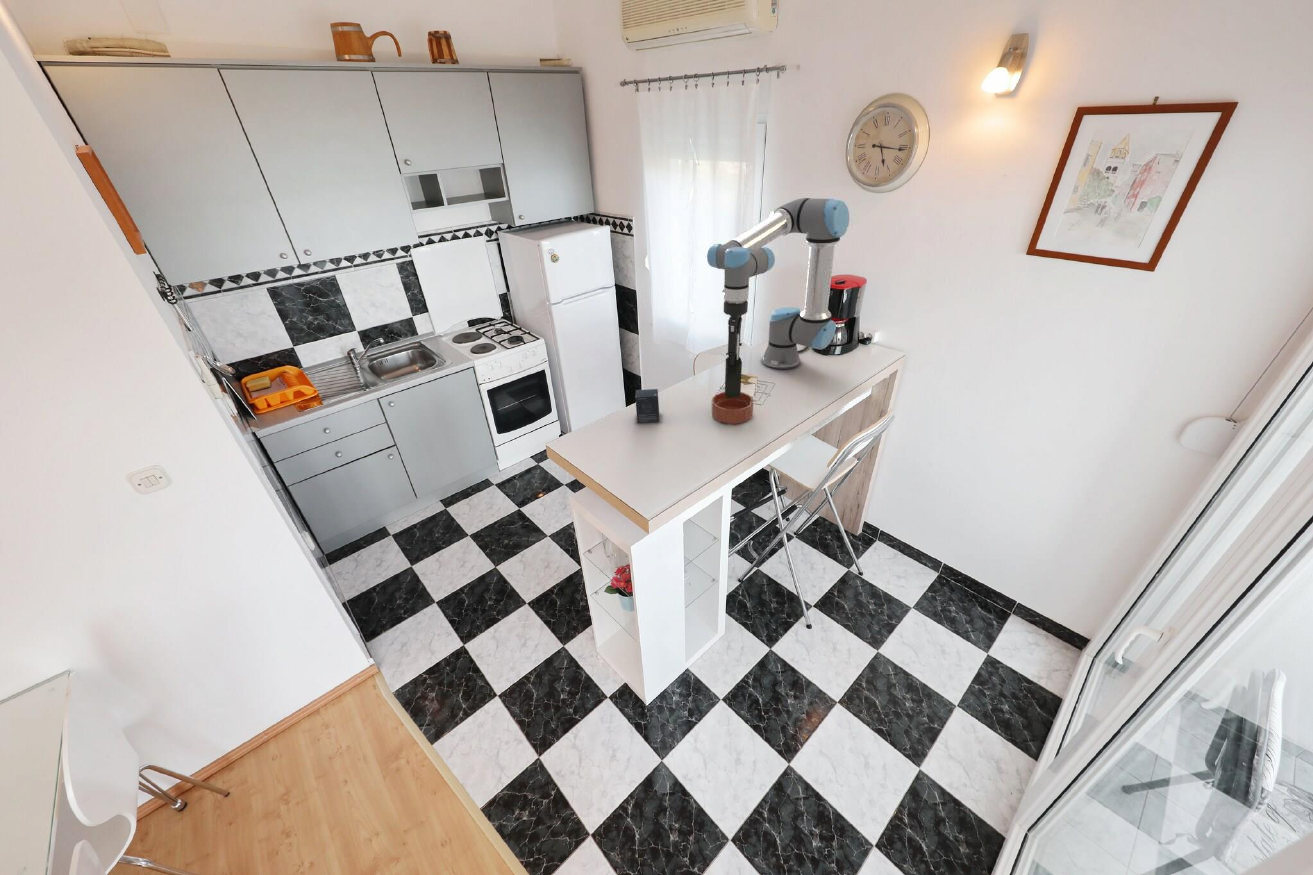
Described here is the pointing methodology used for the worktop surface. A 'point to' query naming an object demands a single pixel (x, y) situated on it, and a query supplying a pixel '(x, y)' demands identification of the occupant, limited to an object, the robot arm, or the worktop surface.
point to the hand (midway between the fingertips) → (733, 368)
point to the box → (647, 405)
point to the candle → (733, 378)
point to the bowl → (732, 408)
